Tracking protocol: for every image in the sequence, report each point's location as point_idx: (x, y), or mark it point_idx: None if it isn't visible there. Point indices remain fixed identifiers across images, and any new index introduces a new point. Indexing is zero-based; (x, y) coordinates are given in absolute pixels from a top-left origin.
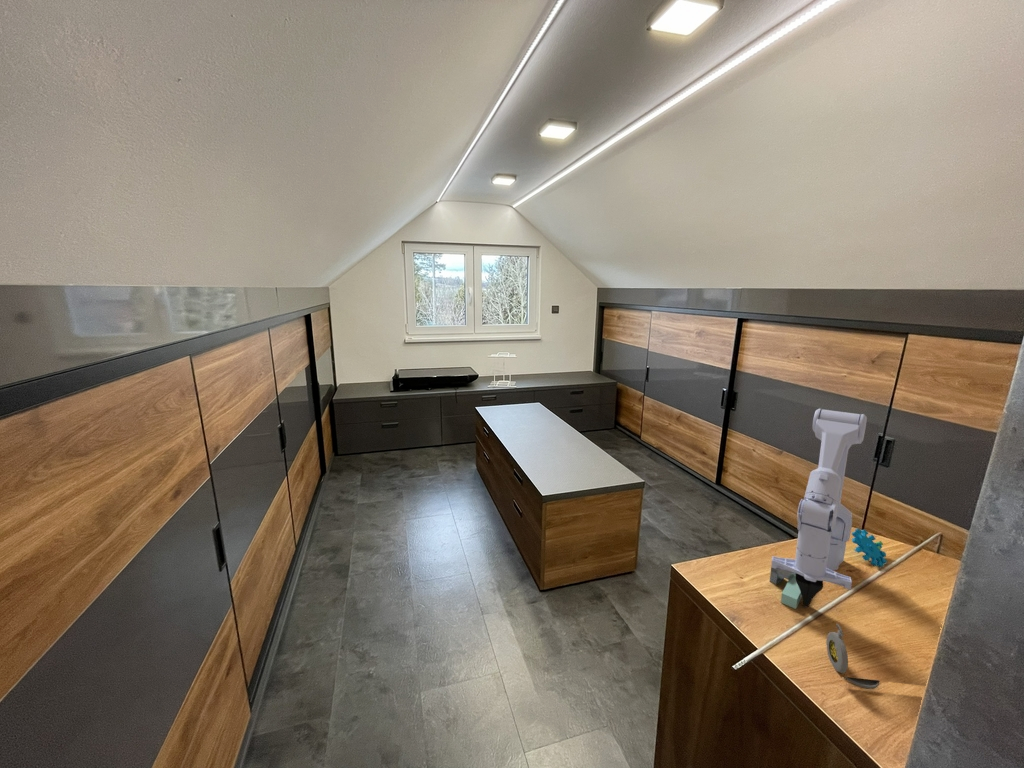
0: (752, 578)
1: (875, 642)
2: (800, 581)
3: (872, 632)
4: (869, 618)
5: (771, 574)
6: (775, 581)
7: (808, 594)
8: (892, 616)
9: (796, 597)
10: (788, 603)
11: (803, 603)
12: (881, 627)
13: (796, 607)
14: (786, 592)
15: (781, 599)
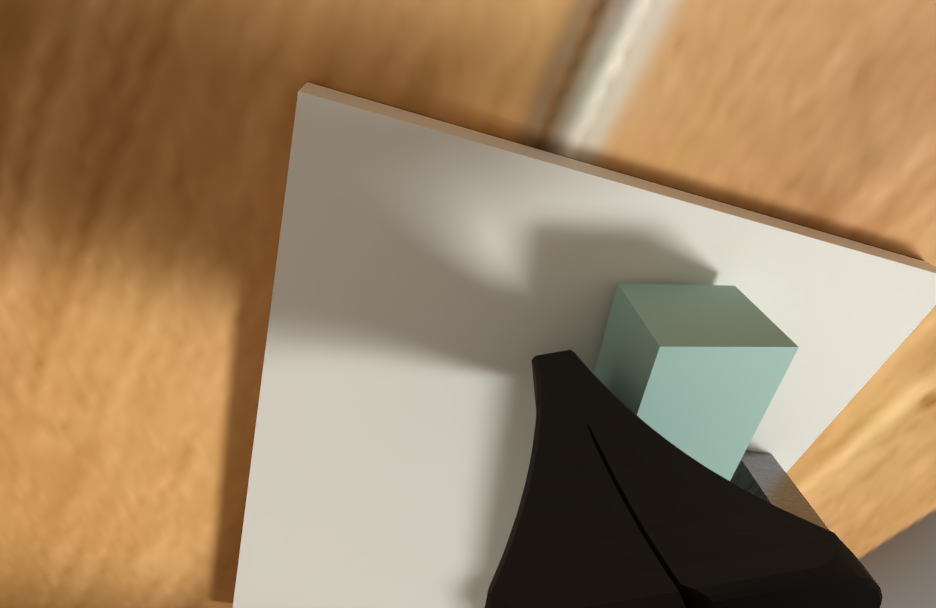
0: (851, 435)
1: (65, 330)
2: (826, 591)
3: (128, 415)
4: (194, 515)
5: (815, 520)
6: (757, 478)
7: (589, 453)
8: (118, 591)
9: (663, 374)
10: (688, 298)
11: (579, 361)
12: (113, 488)
13: (615, 303)
14: (748, 385)
15: (752, 303)
